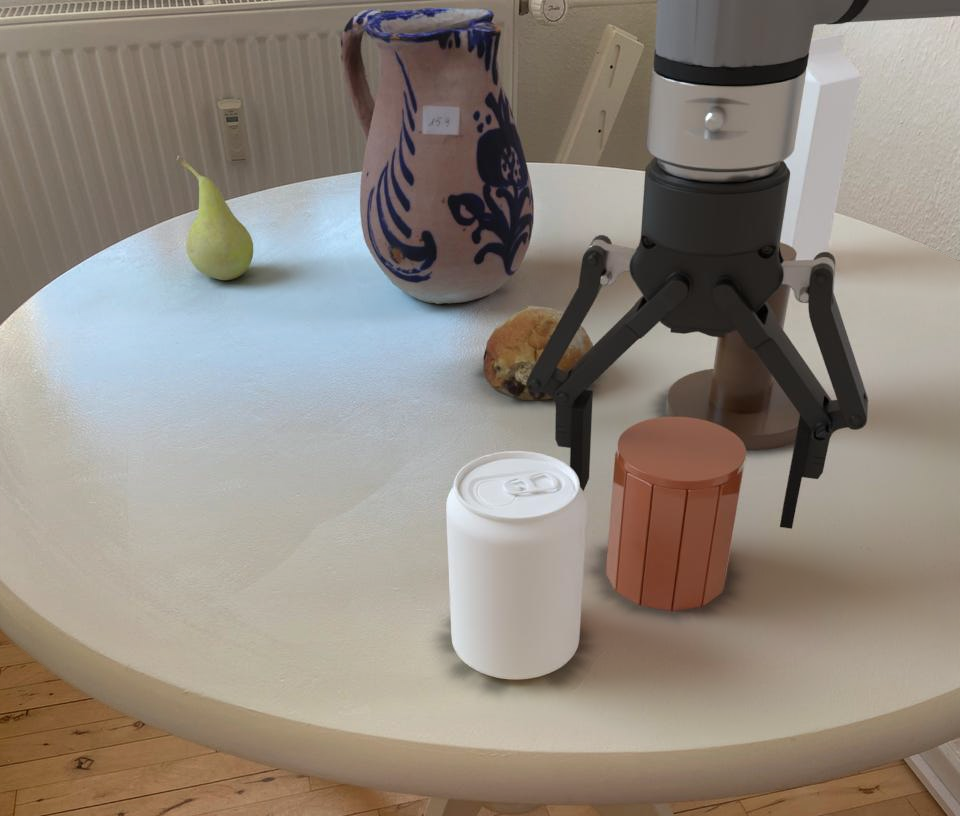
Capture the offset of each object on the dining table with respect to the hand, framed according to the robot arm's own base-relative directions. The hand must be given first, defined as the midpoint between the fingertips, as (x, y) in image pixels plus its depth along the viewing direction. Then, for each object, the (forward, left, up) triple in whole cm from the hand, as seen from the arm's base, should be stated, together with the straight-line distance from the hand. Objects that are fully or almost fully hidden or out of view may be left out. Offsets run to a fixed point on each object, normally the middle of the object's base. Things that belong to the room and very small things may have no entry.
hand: (680, 502), depth 69 cm
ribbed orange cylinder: (0, 0, -6) cm, 6 cm away
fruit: (+55, -40, -6) cm, 68 cm away
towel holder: (-2, -24, -6) cm, 25 cm away
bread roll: (+16, -26, -6) cm, 31 cm away
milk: (-3, -59, -6) cm, 59 cm away
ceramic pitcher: (+32, -44, -6) cm, 55 cm away
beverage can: (+8, +10, -6) cm, 14 cm away
